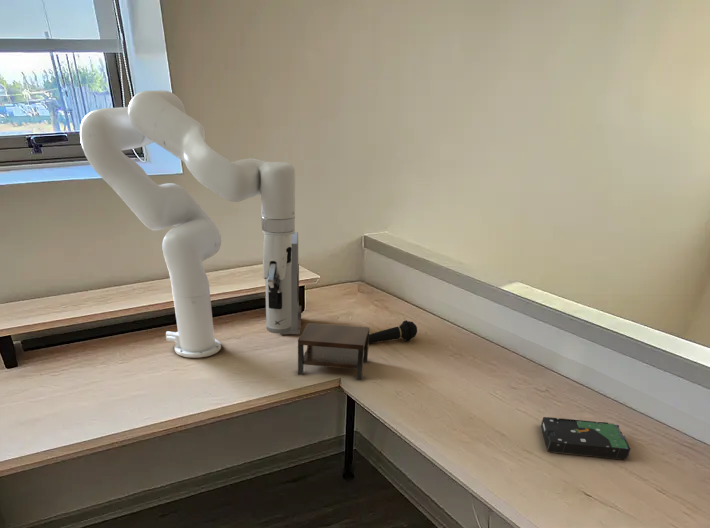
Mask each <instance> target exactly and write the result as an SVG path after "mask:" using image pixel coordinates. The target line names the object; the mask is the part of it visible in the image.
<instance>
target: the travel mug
mask: <svg viewBox="0 0 710 528" xmlns="http://www.w3.org/2000/svg"><path fill="white" fill-rule="evenodd" d="M291 251H292V248H291V247H288V248H287V249H286V252H288V254H287V264H286V266H287V267H286V273H285V278H284V279H283V280H282V282H281V292H282V309H271V308H269V294H268V285H269V284H268V278H267V279H264V280H265V281H264V284H265V324H266V325H265V328H266V331H267V332H269V333H271V334H279V335H282V334H281V333H286V332H289V331H290V330H291ZM268 275H269V274H268ZM275 278H278V279H279V276H278V275H275ZM275 283H277V286H278V282H277V281H275Z"/></svg>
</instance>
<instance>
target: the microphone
mask: <svg viewBox="0 0 710 528" xmlns="http://www.w3.org/2000/svg"><path fill="white" fill-rule="evenodd" d="M417 334H418V327H417V325H416V324H415V323H414V322H413V321H410V320H409V321H408V320H404V321H402V323H401V324H400V325H399V326H394V327H390V328H387V329H382V330H379V331H375V332H372V333H369V344H368V345H370V344H376V343H382V342H389V341H394V340H400V339H402V340H403V341H405V342H411V340H413V339H414V338H415V337H416V336H417Z"/></svg>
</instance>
